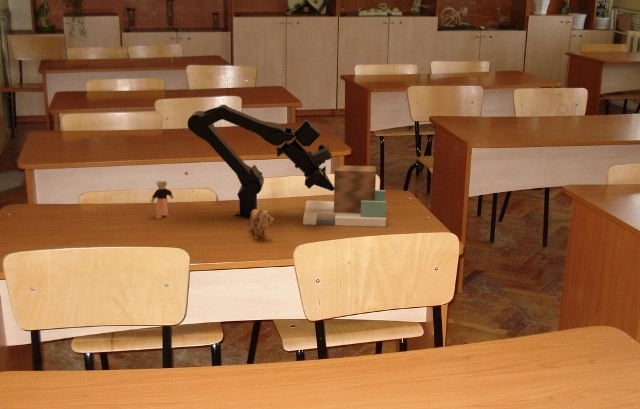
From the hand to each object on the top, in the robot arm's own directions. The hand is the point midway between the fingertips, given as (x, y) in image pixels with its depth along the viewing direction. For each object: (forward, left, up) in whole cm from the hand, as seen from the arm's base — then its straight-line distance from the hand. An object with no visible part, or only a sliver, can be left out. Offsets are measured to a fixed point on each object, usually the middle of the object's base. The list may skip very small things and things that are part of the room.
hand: (333, 189), depth 252 cm
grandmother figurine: (-22, +50, -9) cm, 56 cm away
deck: (+1, -4, -9) cm, 10 cm away
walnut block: (+2, -6, -7) cm, 10 cm away
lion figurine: (-23, +15, -9) cm, 29 cm away
